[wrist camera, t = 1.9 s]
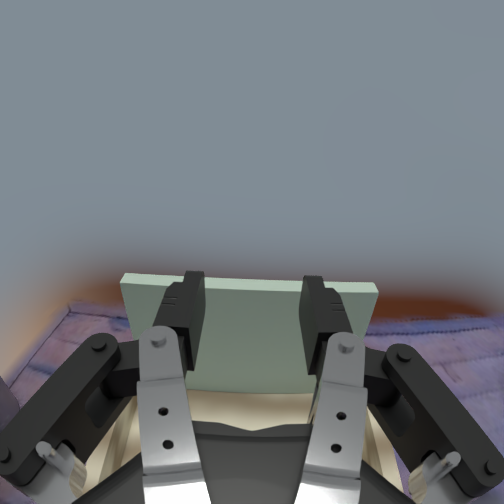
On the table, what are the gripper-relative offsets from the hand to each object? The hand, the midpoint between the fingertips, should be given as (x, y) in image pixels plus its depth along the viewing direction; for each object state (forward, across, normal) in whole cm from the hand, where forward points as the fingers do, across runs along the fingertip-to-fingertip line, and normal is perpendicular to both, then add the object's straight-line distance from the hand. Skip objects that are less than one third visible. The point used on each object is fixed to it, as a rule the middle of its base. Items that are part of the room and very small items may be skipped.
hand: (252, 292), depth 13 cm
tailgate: (+11, 0, +21) cm, 24 cm away
